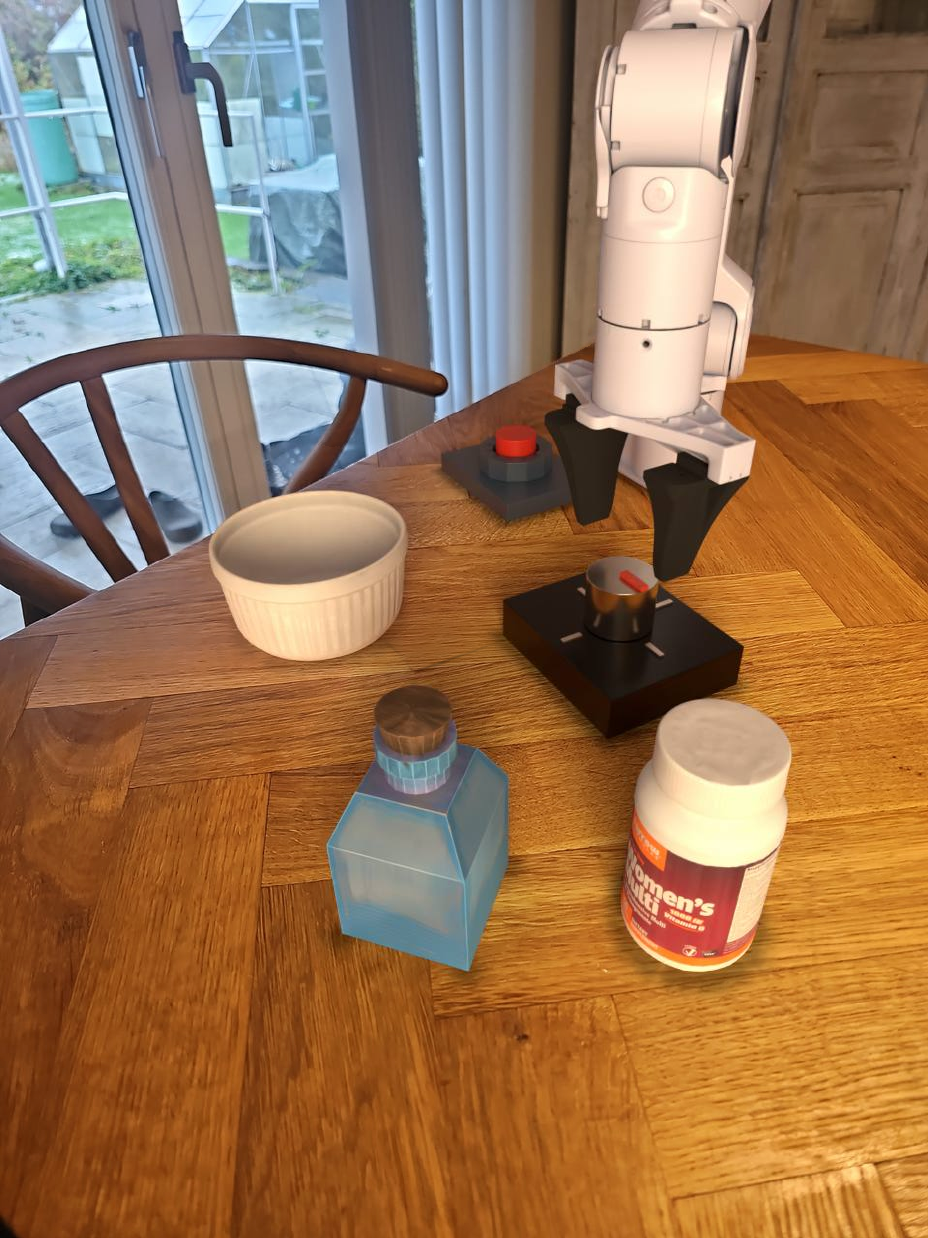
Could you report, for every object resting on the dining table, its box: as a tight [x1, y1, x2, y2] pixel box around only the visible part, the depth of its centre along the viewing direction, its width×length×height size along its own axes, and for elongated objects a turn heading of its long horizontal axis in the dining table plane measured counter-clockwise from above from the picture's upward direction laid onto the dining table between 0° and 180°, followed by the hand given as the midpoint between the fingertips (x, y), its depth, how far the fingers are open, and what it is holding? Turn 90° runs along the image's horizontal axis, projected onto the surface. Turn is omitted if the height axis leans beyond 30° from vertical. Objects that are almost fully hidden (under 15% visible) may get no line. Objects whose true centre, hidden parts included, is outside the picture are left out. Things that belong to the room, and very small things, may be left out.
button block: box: [440, 434, 573, 523], centre depth 76 cm, size 12×9×4 cm
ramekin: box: [208, 489, 409, 662], centre depth 59 cm, size 13×13×7 cm
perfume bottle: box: [326, 684, 510, 972], centre depth 37 cm, size 6×6×12 cm
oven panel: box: [502, 571, 745, 740], centre depth 55 cm, size 12×10×3 cm
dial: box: [584, 555, 660, 641], centre depth 53 cm, size 4×4×4 cm
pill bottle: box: [620, 698, 793, 973], centre depth 36 cm, size 6×6×11 cm
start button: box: [494, 424, 537, 457], centre depth 75 cm, size 4×4×2 cm
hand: (630, 546), depth 51 cm, fingers open, 7 cm apart
